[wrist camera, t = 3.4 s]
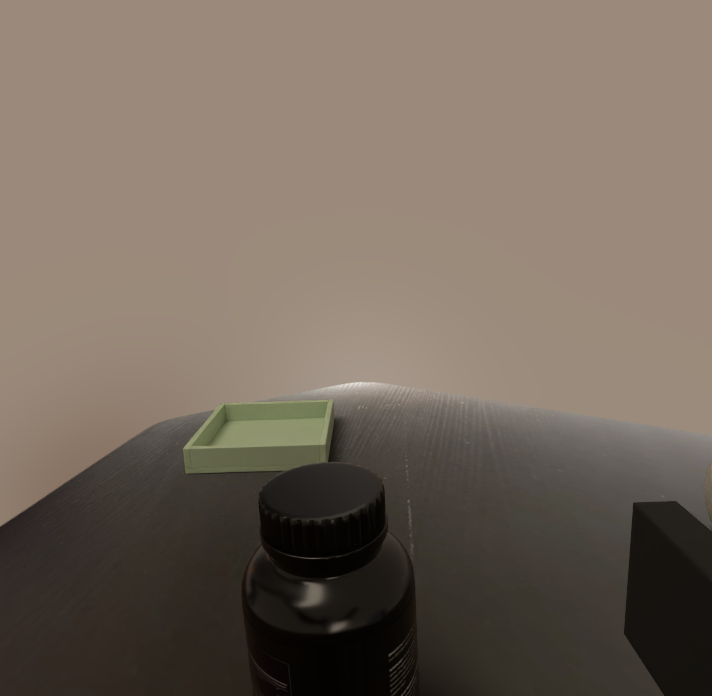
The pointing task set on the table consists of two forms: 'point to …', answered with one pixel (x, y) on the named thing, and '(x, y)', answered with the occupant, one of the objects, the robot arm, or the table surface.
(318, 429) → the tray
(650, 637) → the robot arm
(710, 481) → the ball
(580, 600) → the table surface
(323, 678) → the supplement bottle
